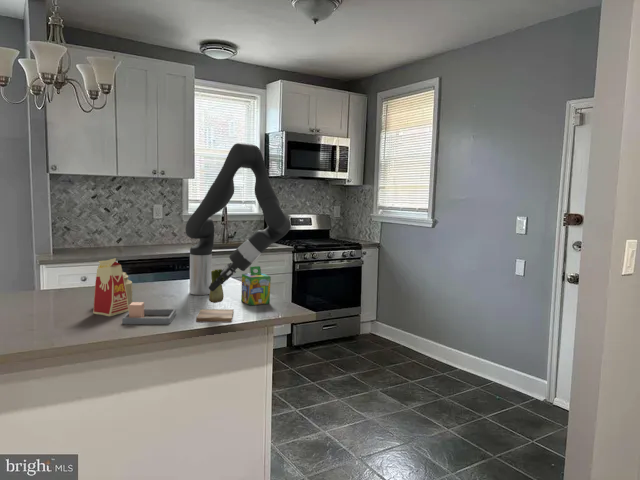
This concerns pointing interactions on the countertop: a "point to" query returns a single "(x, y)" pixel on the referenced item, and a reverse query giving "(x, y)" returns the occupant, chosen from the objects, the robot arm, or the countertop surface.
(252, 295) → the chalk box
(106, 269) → the milk carton
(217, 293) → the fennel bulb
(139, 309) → the pink rectangular block
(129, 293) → the sugar bowl
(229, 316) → the board
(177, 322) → the countertop surface
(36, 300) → the countertop surface
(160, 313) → the grey tray
